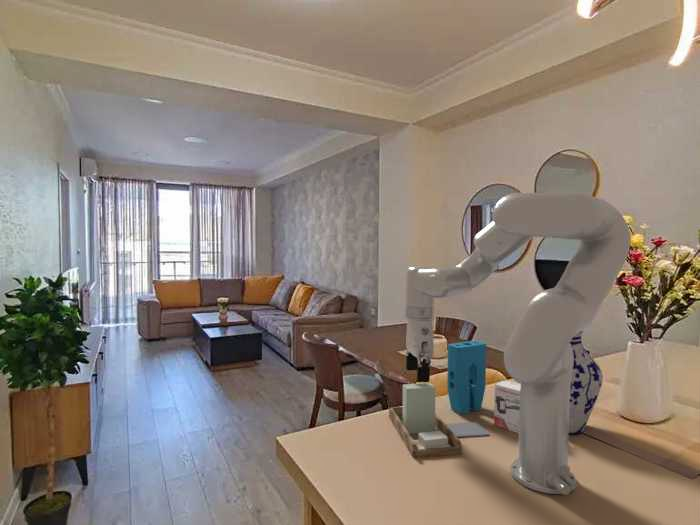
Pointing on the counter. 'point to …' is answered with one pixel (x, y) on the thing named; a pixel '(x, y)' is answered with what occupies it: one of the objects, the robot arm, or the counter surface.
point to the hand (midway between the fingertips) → (417, 375)
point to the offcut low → (419, 446)
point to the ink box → (507, 405)
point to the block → (466, 375)
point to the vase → (582, 386)
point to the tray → (411, 445)
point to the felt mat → (467, 429)
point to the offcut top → (432, 439)
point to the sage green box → (419, 407)
